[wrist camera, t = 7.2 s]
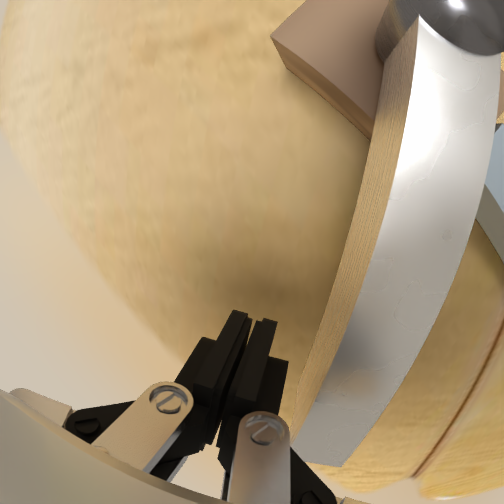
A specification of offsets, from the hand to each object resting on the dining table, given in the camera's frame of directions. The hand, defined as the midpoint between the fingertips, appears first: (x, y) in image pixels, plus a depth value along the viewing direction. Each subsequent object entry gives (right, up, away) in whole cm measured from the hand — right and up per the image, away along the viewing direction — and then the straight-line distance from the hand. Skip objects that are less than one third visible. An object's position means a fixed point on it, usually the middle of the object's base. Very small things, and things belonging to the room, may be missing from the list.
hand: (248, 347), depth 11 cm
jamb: (+7, +12, +2) cm, 14 cm away
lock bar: (+4, +5, -2) cm, 7 cm away
